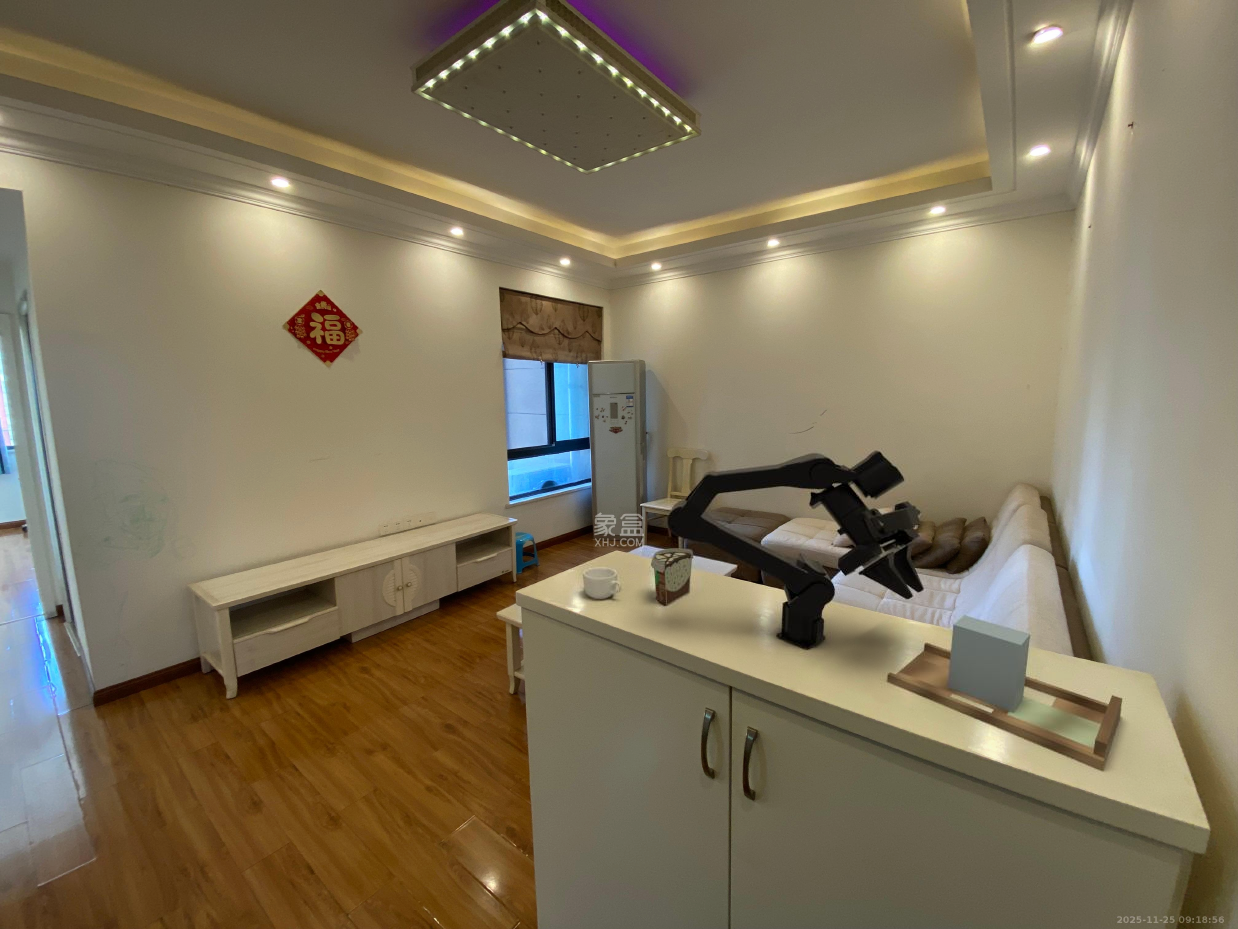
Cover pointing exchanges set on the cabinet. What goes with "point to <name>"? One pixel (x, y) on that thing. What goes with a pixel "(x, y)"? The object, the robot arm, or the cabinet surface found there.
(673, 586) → the food container
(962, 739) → the cabinet surface
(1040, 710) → the tray
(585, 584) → the teacup
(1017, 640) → the slate block
